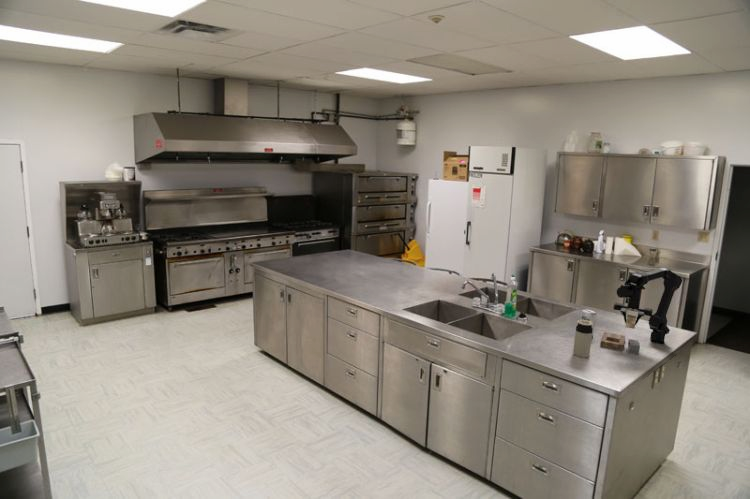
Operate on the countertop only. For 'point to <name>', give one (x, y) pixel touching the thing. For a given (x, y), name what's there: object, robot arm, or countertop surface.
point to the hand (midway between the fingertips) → (630, 324)
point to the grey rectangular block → (633, 347)
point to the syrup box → (589, 317)
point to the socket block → (612, 341)
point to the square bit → (630, 321)
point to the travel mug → (583, 338)
